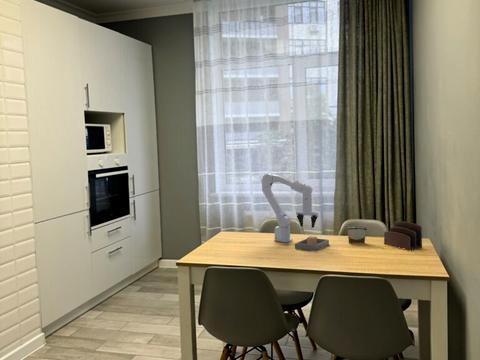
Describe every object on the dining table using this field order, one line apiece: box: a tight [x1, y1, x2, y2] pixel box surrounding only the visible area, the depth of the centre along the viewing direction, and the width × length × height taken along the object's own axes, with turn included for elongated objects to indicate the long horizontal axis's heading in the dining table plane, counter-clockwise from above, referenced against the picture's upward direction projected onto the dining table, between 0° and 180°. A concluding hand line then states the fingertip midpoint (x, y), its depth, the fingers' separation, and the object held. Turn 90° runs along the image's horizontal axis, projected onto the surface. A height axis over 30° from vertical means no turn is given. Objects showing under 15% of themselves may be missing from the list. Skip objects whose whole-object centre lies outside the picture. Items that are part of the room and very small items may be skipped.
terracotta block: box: [306, 236, 318, 246], centre depth 263 cm, size 4×4×5 cm
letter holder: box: [383, 220, 423, 251], centre depth 259 cm, size 10×20×14 cm, turn 26°
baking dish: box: [294, 237, 330, 252], centre depth 263 cm, size 13×19×3 cm
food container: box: [345, 224, 368, 244], centre depth 272 cm, size 12×6×10 cm, turn 84°
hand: (307, 226), depth 275 cm, fingers open, 7 cm apart
